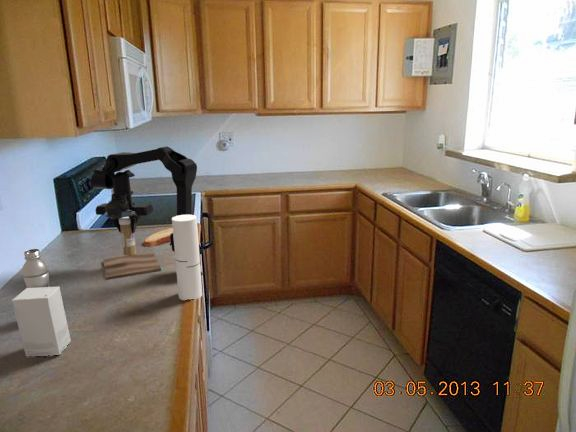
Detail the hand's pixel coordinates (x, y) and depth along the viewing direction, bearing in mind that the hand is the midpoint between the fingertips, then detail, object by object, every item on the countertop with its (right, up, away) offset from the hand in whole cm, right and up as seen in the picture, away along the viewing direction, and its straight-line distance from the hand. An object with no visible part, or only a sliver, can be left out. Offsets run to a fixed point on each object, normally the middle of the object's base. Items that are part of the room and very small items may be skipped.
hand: (127, 232), depth 150 cm
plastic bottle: (-11, -23, -32) cm, 41 cm away
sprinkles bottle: (0, -8, +2) cm, 8 cm away
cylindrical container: (+27, -19, -19) cm, 38 cm away
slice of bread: (+5, -5, +33) cm, 33 cm away
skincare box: (-1, -27, -47) cm, 54 cm away
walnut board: (0, -12, +4) cm, 13 cm away
